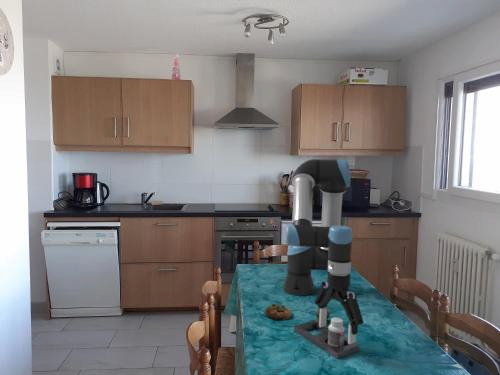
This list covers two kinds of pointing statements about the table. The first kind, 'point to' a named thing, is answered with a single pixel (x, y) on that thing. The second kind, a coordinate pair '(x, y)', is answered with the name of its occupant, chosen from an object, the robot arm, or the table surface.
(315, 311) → the grey chess piece
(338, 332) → the pill bottle
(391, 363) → the table surface
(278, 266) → the table surface
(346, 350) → the grey rectangular frame
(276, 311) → the bread roll
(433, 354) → the table surface
